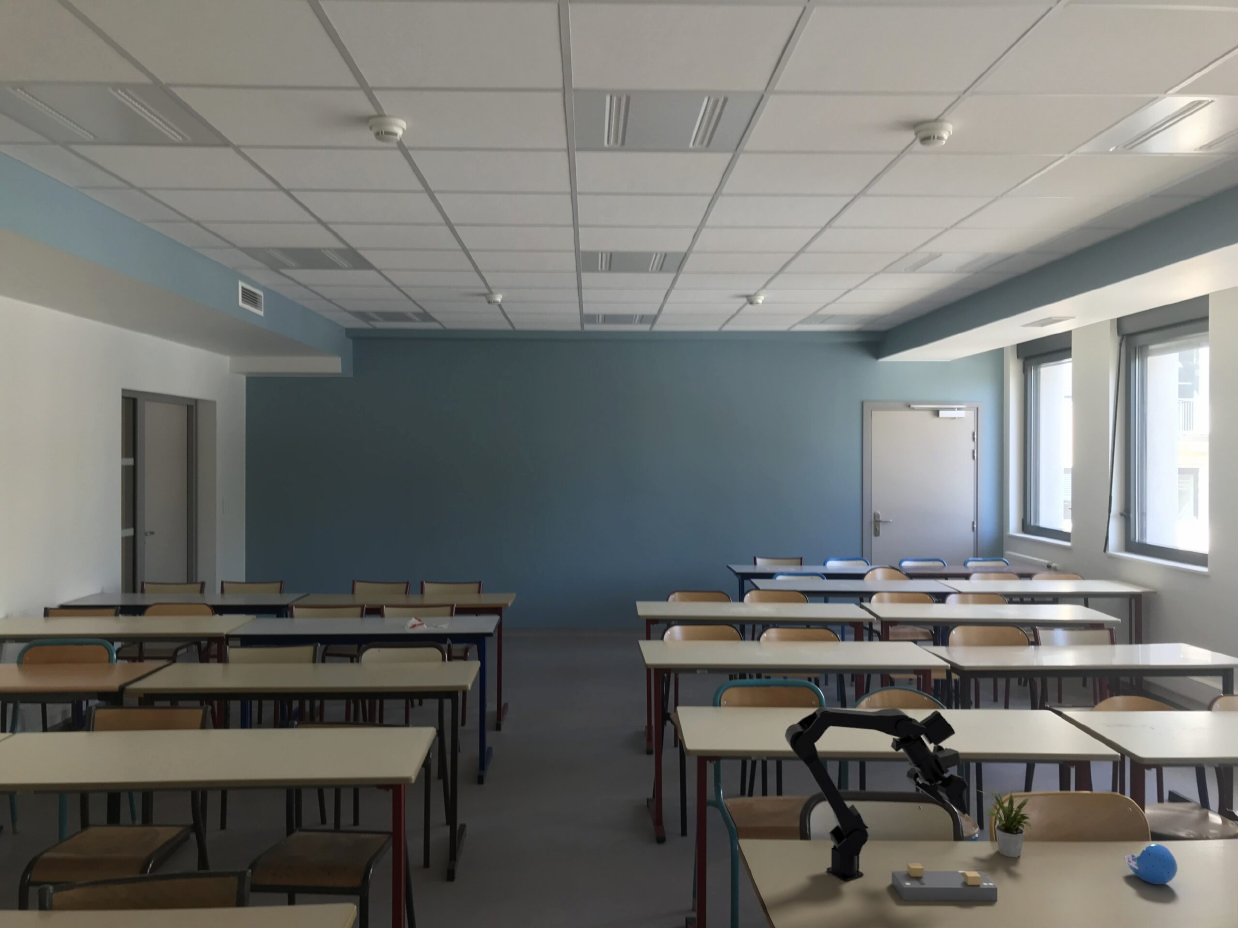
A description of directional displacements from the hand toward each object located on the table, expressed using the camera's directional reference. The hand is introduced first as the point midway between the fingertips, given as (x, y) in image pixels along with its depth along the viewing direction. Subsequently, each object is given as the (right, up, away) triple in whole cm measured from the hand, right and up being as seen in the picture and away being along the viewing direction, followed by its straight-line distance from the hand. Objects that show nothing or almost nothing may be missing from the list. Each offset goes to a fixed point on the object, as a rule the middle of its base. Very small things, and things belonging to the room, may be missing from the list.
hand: (954, 808), depth 201 cm
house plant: (+18, -17, +12) cm, 28 cm away
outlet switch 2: (0, -13, -11) cm, 17 cm away
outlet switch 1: (-12, -13, -7) cm, 19 cm away
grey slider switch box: (-6, -16, -9) cm, 19 cm away
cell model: (+47, -17, -2) cm, 50 cm away
